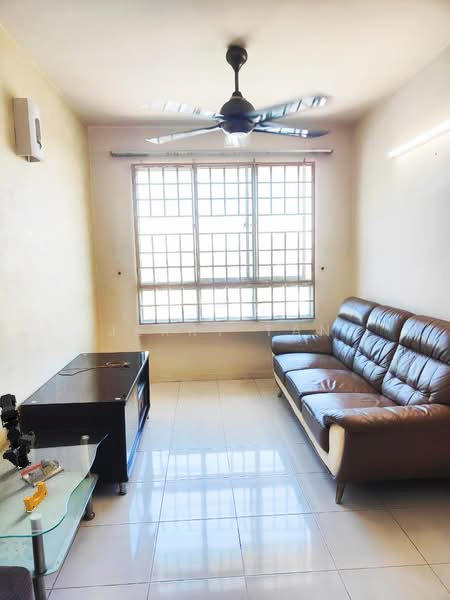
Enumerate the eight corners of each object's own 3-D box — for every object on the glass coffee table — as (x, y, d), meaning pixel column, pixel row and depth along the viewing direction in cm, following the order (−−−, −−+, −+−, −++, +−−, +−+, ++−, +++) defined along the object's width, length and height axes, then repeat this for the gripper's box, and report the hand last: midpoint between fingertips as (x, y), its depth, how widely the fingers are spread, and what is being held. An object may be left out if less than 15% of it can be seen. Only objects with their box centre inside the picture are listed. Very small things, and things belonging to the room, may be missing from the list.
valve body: (28, 480, 191) (26, 472, 190) (55, 465, 201) (53, 457, 200) (33, 483, 187) (31, 475, 186) (60, 468, 197) (58, 460, 196)
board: (22, 477, 196) (21, 475, 195) (50, 462, 207) (50, 460, 206) (34, 486, 185) (34, 485, 185) (64, 470, 196) (63, 468, 196)
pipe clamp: (39, 494, 178) (36, 482, 177) (48, 494, 177) (44, 481, 176) (23, 513, 166) (19, 500, 165) (32, 512, 166) (28, 499, 165)
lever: (22, 477, 185) (21, 473, 185) (20, 474, 188) (19, 470, 188) (51, 463, 194) (50, 459, 194) (48, 461, 197) (47, 457, 197)
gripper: (21, 439, 182) (29, 468, 185) (37, 421, 201) (44, 448, 203) (-2, 443, 182) (6, 473, 184) (16, 425, 200) (23, 452, 203)
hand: (21, 461), depth 193 cm, fingers open, 9 cm apart
